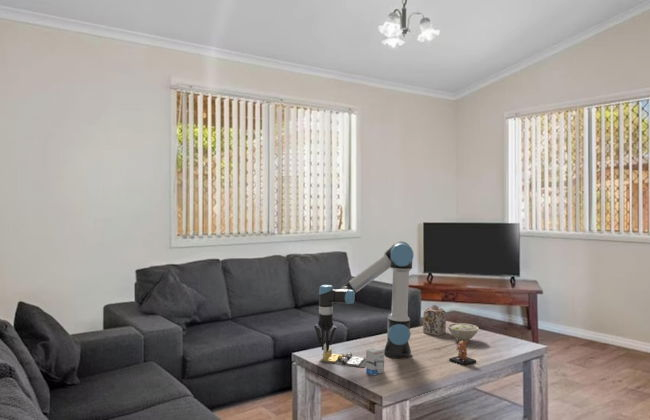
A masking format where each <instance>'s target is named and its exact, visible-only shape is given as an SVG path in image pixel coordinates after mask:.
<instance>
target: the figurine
mask: <svg viewBox="0 0 650 420" xmlns="http://www.w3.org/2000/svg"><path fill="white" fill-rule="evenodd" d="M467 343H468V342H466V341H460V339H459V342H457V347H456V348H455V351H458V353H457V356H453V357H449V358H448V361H449V362H450V363H453V364H456V363H457V365H459V364H460V366H463V367H467V366H469V365H474V364H476V363H477V359H473V358H471V357H469V356H467V355H468V351H467Z"/></svg>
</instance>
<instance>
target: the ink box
mask: <svg viewBox="0 0 650 420" xmlns="http://www.w3.org/2000/svg"><path fill="white" fill-rule="evenodd" d="M384 349H385V348H381V347H377V346H376V347H372V348H369V349H366V350H365V351H366V352H365V354H366V355H365V356H366V357H365V358H366V366H365V371H366V372H365V373H366V374H368V375H371V376H374V375H375V376H376V375H378V374H384V373H385V355H384Z"/></svg>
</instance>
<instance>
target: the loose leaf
mask: <svg viewBox="0 0 650 420" xmlns="http://www.w3.org/2000/svg"><path fill="white" fill-rule="evenodd" d="M332 349H333V348H332V347H329V350H328V351H326V352H325V353H324V354H323V353H322V358H323V362H331V363H336V362H337V361H338V360H339V361H341V359H342V358H343V357H345V356H346V354H344V353H339V354H338V353H333V352H332Z"/></svg>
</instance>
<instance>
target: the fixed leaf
mask: <svg viewBox="0 0 650 420" xmlns="http://www.w3.org/2000/svg"><path fill="white" fill-rule="evenodd" d="M345 356H346V357H343V358H342V359H341V363H342V364H345V363H346V362H347V361H348V359H350V360H349V361H348V362H347V363H346V365H354V366H359V365H360V364H361V363H362V362H363V360H364V358H365V357H361V356H353V352H350V351H348V352H347V353H346V354H345Z"/></svg>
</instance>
